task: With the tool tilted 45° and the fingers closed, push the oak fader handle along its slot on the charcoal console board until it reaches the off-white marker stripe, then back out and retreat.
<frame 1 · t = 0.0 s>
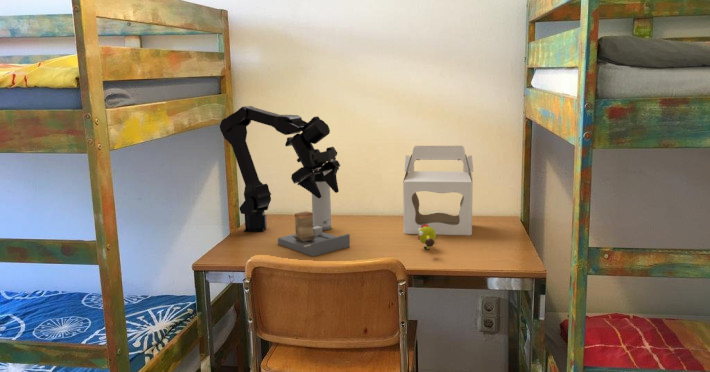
hand: (329, 195, 183), 15 cm above the table, tool tilted 35°, fingers open, 9 cm apart
console: (306, 247, 181), on the table
travel mug: (322, 228, 202), on the table
toy figure: (426, 249, 176), on the table
gable box: (438, 230, 198), on the table
fader: (304, 226, 181), point 6 cm above the table, slide at 0.0 cm
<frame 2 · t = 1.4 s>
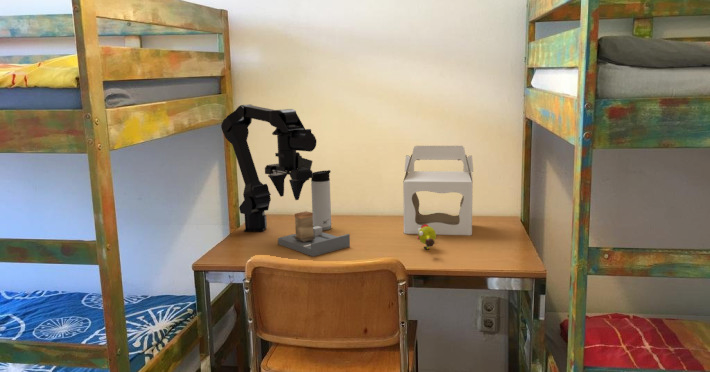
hand: (289, 198, 190), 13 cm above the table, tool pointing down, fingers open, 8 cm apart
nothing on the table moved.
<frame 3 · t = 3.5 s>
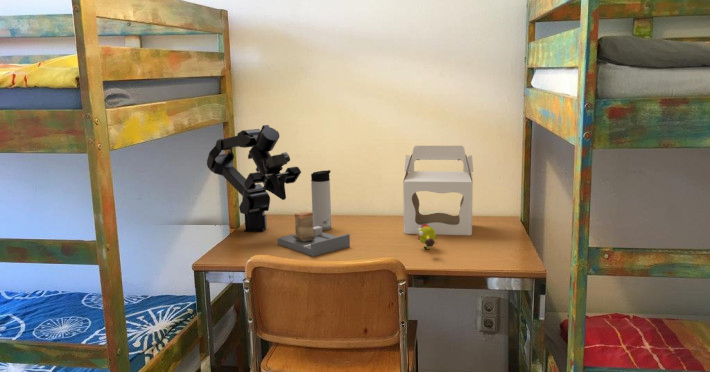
hand: (284, 199, 187), 13 cm above the table, tool tilted 45°, fingers closed
nothing on the table moved.
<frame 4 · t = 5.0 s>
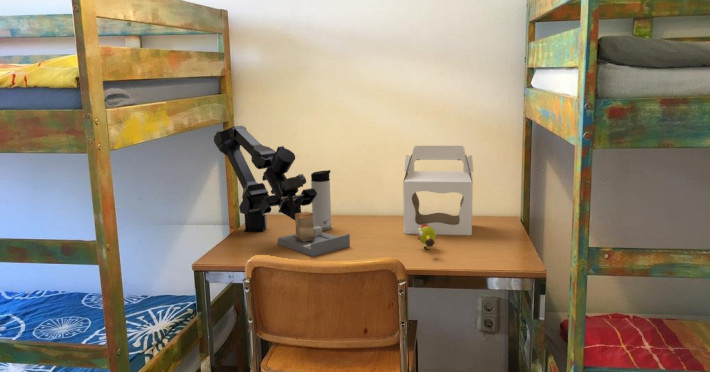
hand: (300, 222, 182), 7 cm above the table, tool tilted 45°, fingers closed, pressing on fader
fader: (304, 226, 180), point 6 cm above the table, slide at 0.2 cm, touching gripper
everything else where it was.
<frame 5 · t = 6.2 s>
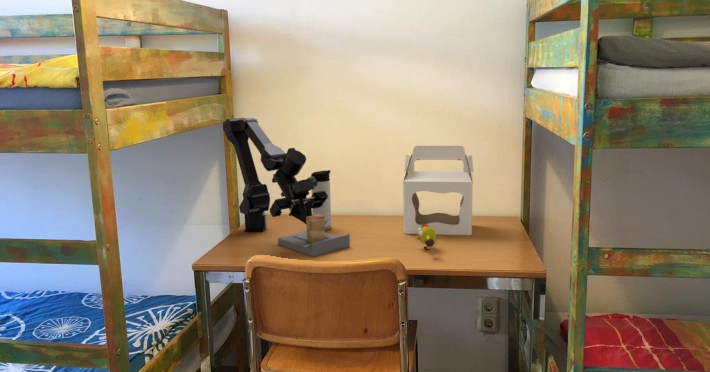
hand: (311, 225, 177), 7 cm above the table, tool tilted 45°, fingers closed
fader: (315, 229, 176), point 6 cm above the table, slide at 5.8 cm
everything else where it was.
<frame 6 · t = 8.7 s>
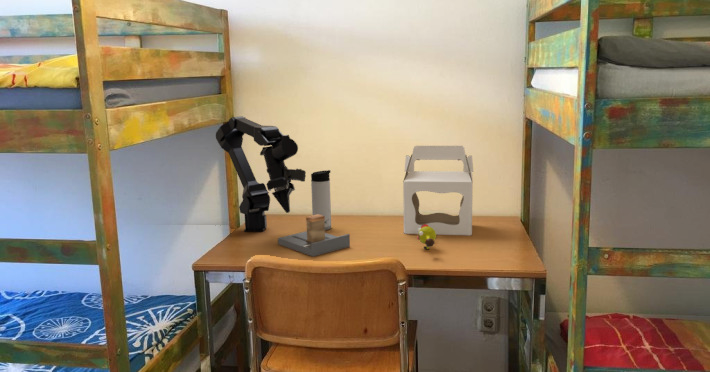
hand: (288, 212, 186), 9 cm above the table, tool tilted 20°, fingers closed
nothing on the table moved.
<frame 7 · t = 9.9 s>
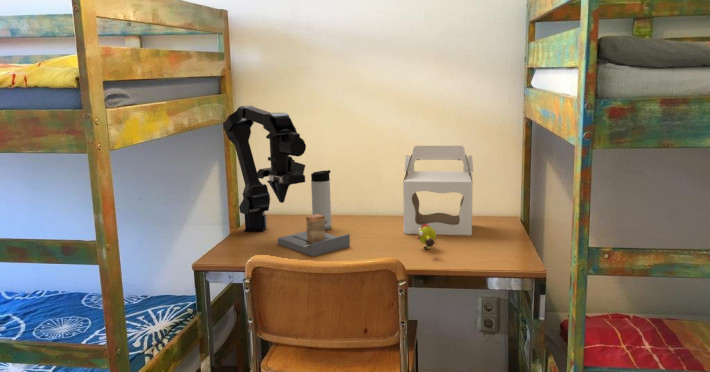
hand: (281, 202, 188), 12 cm above the table, tool pointing down, fingers closed
nothing on the table moved.
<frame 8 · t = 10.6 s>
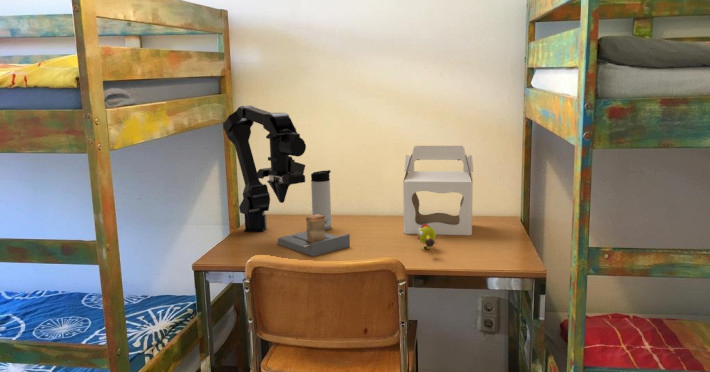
hand: (281, 202, 188), 12 cm above the table, tool pointing down, fingers closed
nothing on the table moved.
at the end: fader slide at 5.8 cm; the gripper is holding nothing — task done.
